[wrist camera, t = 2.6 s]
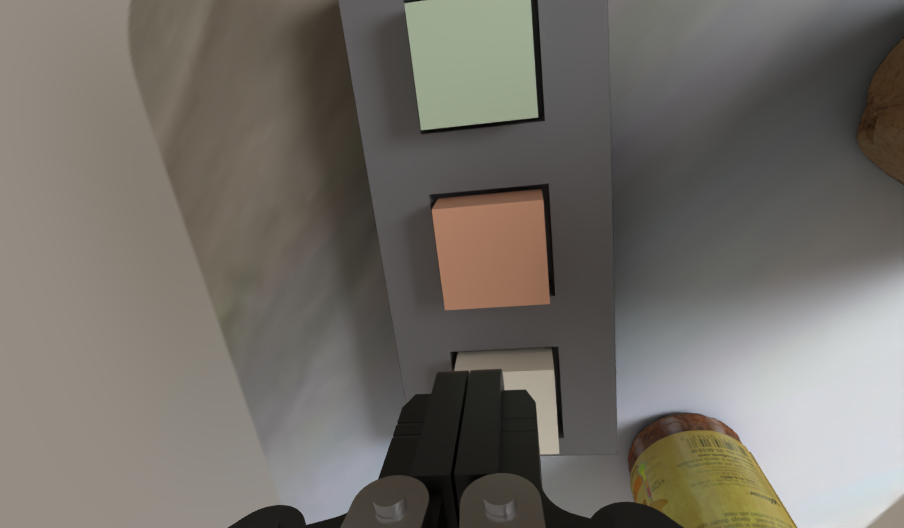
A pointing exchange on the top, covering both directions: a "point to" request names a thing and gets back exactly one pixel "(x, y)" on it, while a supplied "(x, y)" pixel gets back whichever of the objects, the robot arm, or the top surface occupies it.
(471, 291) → the terracotta button
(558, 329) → the button panel
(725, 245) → the top surface
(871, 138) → the brown sandstone rock
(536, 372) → the cream button
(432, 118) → the sage button
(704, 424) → the sauce bottle
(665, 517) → the robot arm
